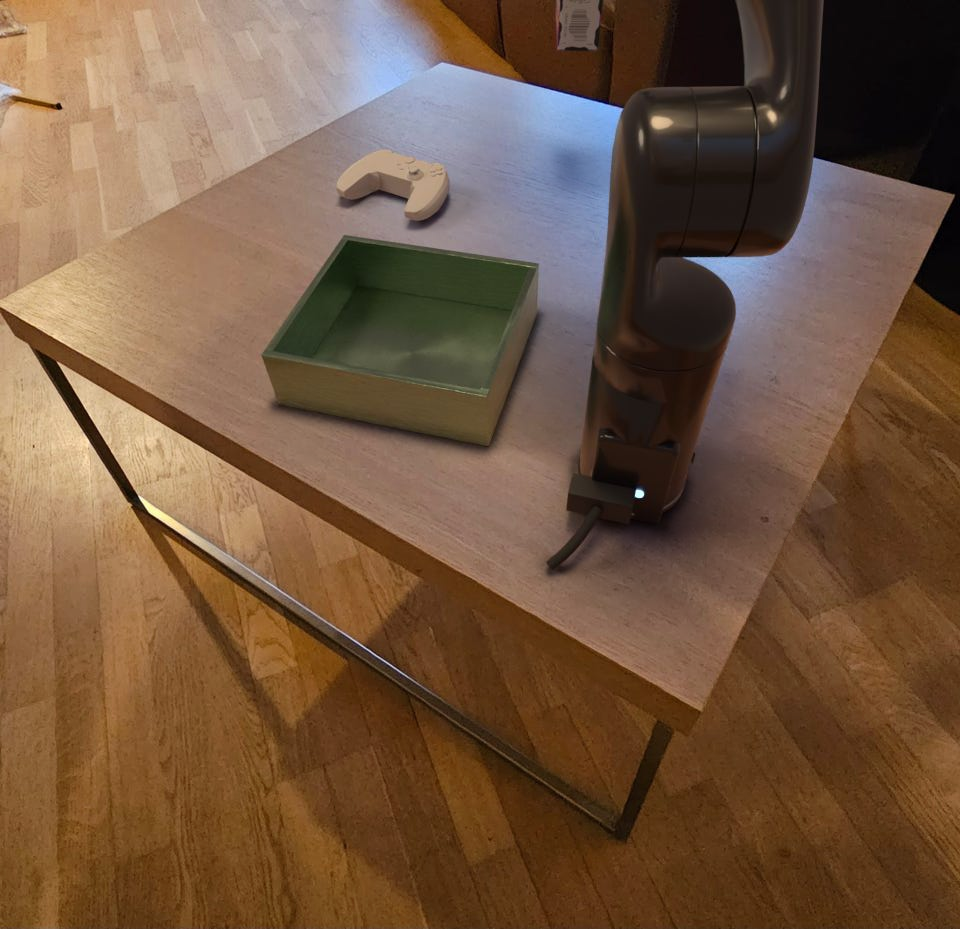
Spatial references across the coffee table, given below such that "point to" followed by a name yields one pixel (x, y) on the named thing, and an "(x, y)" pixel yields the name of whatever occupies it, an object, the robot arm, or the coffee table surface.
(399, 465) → the coffee table surface
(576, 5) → the candy bar box
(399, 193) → the game controller
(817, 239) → the coffee table surface
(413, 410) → the shallow wooden crate
